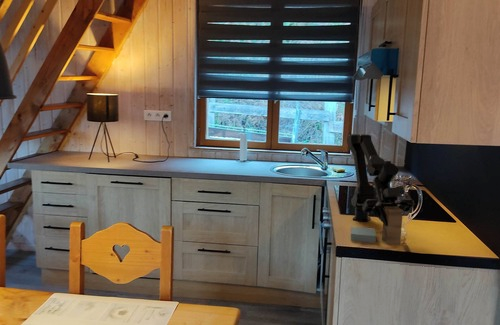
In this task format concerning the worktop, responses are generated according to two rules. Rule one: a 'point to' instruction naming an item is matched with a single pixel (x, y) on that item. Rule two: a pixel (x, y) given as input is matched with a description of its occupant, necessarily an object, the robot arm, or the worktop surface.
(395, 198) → the robot arm
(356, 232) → the base block
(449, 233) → the worktop surface
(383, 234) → the walnut pillar
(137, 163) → the worktop surface
